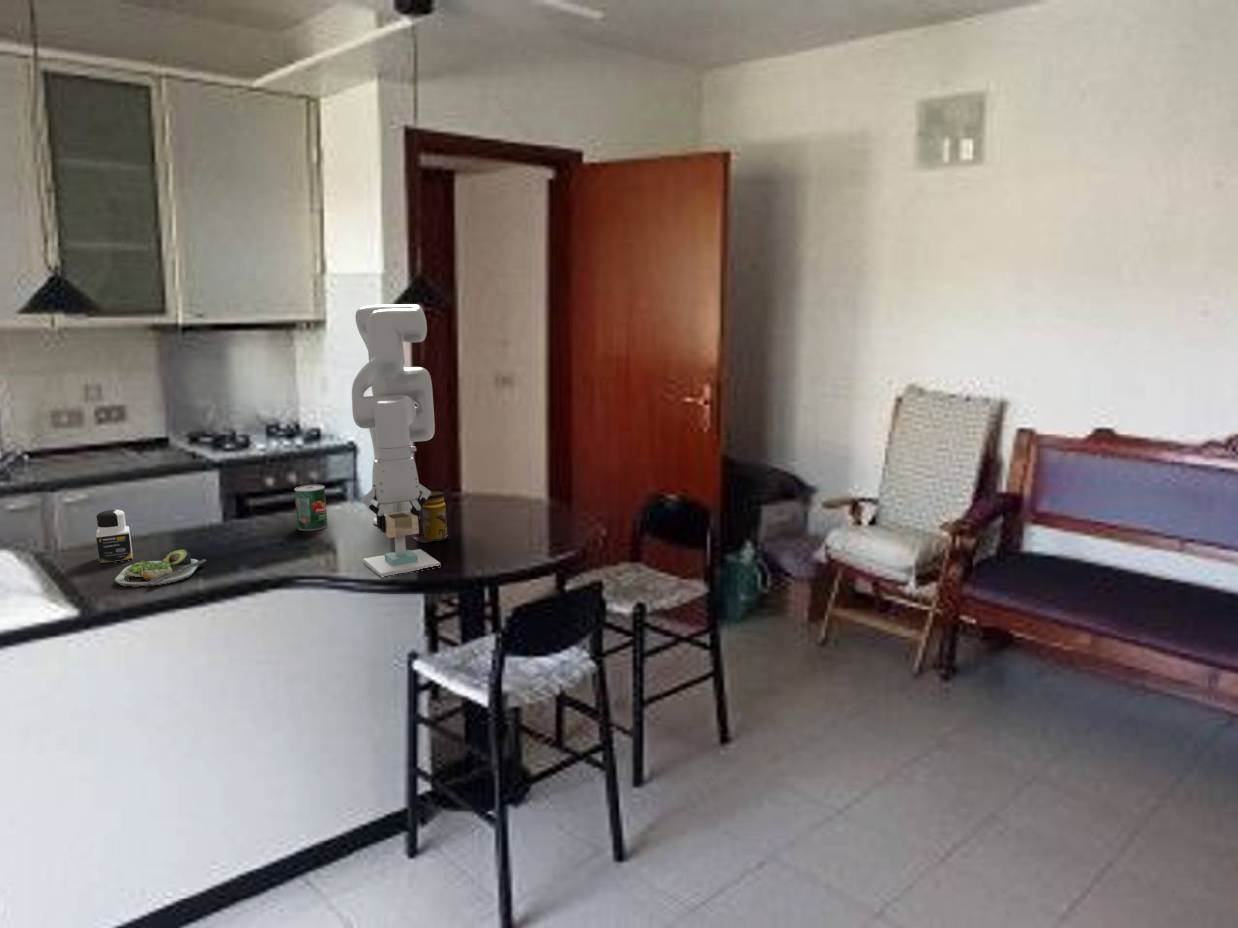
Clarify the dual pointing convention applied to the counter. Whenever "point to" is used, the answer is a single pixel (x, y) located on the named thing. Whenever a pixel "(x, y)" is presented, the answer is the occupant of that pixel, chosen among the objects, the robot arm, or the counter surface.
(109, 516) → the medicine bottle
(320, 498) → the canned tomato
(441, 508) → the condiment
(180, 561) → the salad plate
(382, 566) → the post block
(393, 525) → the collar
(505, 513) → the counter surface
